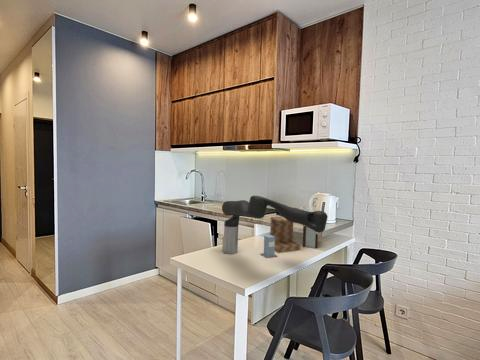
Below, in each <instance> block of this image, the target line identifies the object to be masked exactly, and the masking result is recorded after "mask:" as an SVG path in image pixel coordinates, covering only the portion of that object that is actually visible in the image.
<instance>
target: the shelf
mask: <svg viewBox="0 0 480 360" xmlns="http://www.w3.org/2000/svg"><path fill="white" fill-rule="evenodd" d="M269 229H270V230H269V231H270V232H269V235H272V236H274V237H275V253H277V254H281V253H288V252H296V251H301V250H302V244H301V243H299V242H296V241H294V240H293V239H292V234H293V235H294V222H291V221H288V220H287V219H285V218H284V217H282V216H271V217H270V228H269Z"/></svg>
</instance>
